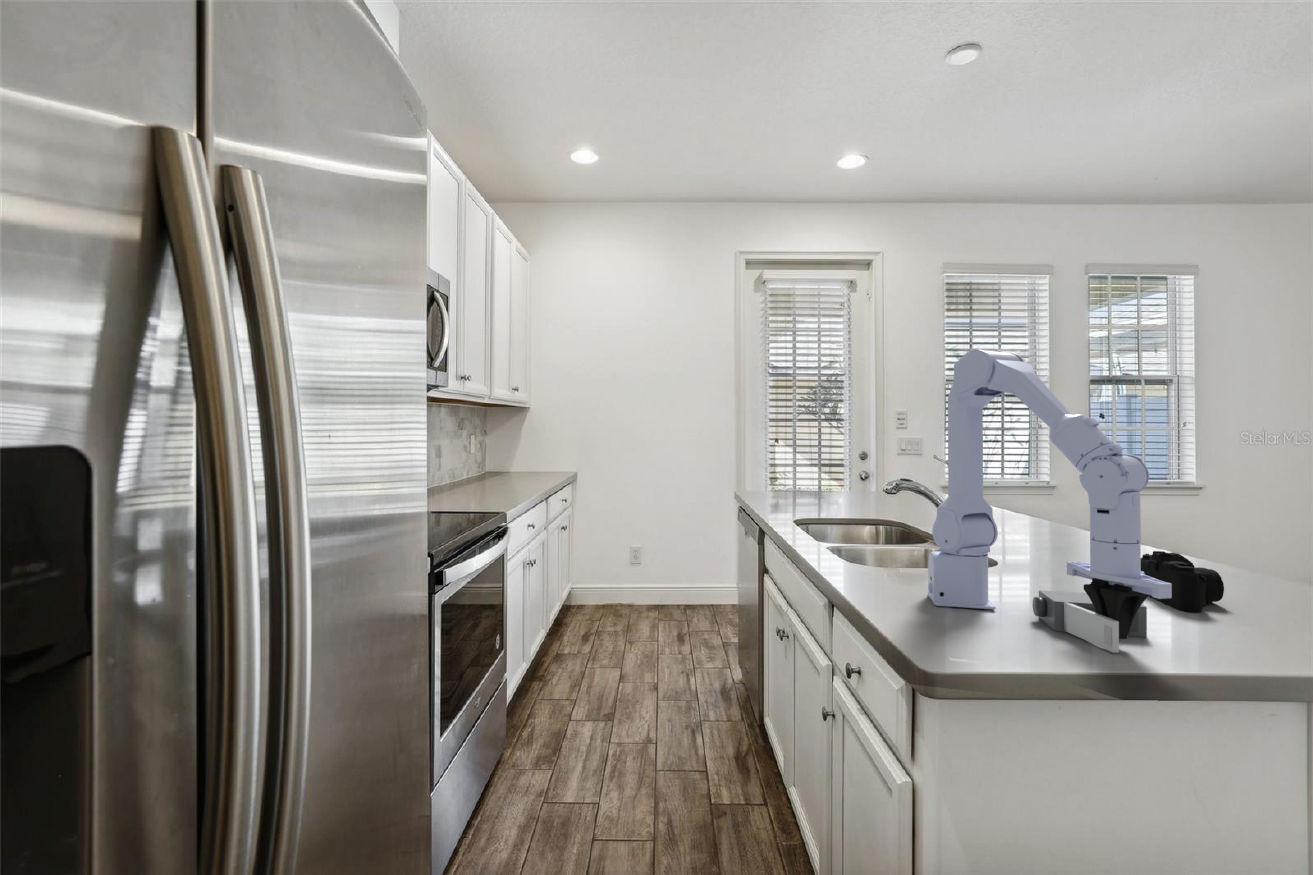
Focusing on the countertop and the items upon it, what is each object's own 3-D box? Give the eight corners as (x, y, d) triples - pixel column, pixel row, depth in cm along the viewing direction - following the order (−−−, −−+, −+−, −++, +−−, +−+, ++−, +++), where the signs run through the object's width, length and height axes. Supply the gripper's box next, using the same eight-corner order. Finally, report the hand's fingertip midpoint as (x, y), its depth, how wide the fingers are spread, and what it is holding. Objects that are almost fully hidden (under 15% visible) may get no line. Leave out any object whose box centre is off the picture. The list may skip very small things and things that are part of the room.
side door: (1061, 630, 93) (1061, 602, 93) (1068, 629, 93) (1068, 602, 93) (1112, 652, 83) (1111, 621, 83) (1119, 652, 83) (1119, 621, 83)
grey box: (1046, 630, 94) (1045, 597, 94) (1030, 617, 100) (1030, 586, 100) (1147, 637, 90) (1147, 603, 90) (1124, 623, 97) (1123, 591, 97)
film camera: (1247, 616, 101) (1247, 562, 101) (1179, 613, 103) (1179, 560, 103) (1188, 594, 116) (1187, 546, 116) (1130, 591, 118) (1129, 545, 118)
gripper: (1191, 548, 79) (1192, 653, 79) (1094, 532, 94) (1095, 620, 94) (1144, 550, 78) (1145, 656, 78) (1054, 533, 93) (1054, 622, 93)
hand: (1115, 637), depth 86 cm, fingers closed, pressing on side door
